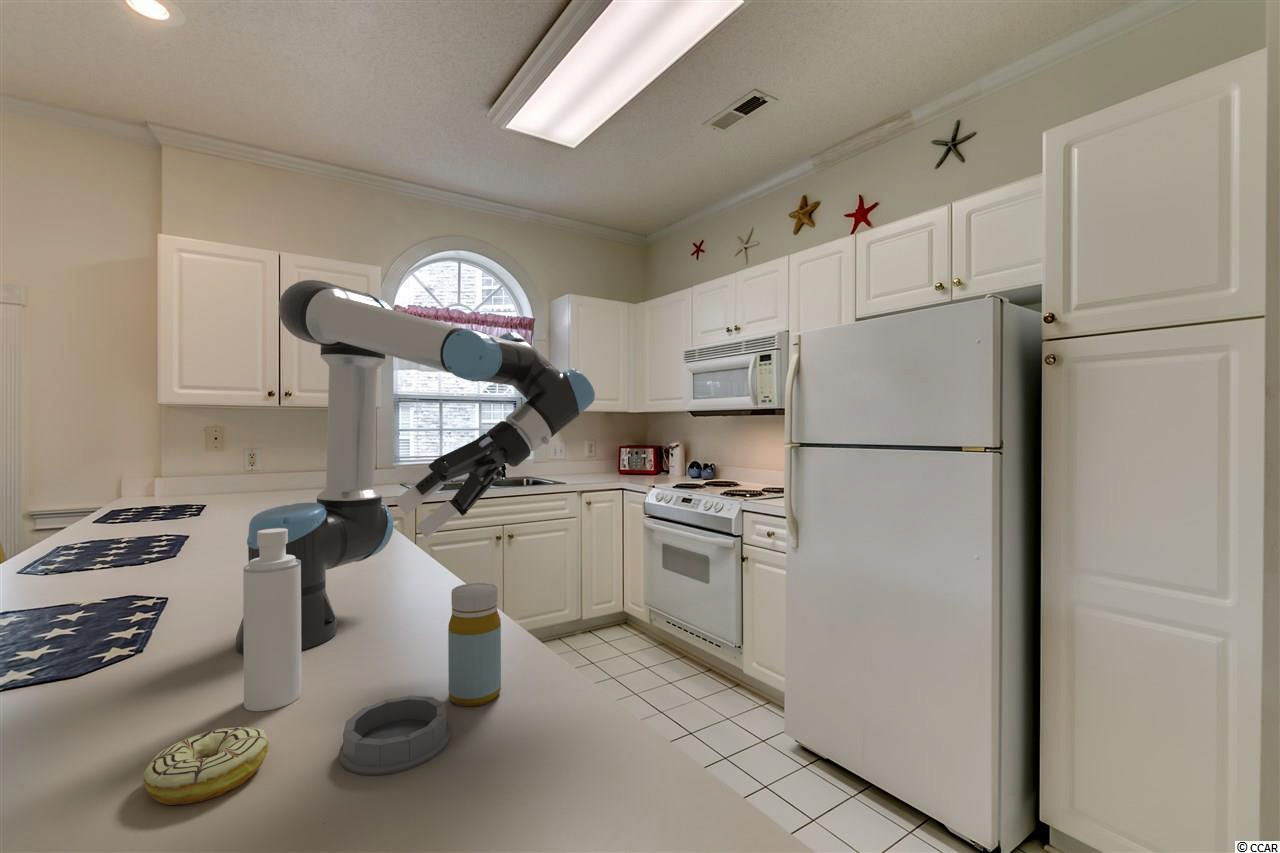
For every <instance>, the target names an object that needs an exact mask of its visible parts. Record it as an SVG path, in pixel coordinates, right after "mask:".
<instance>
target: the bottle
mask: <svg viewBox="0 0 1280 853" xmlns="http://www.w3.org/2000/svg"><path fill="white" fill-rule="evenodd" d="M448 621H449V622H448V629H447V630H448V632H447V633H448V637H447V638H448V641H447V643H448V645H447V648H448V650H447V651H448V672H447V673H448V697H449V699H450V700H451V701H452V702H453V703H454V704H456V705H457V706H461V707H476V706H483V705H485V704H488V703H490V702H491V701H494V699H496V697H497V696H498V695H499V693H500V692H501V690H502V689H501V687H502V627H501V626H502V624H501V617H500V614H499V612H498V586H497V585H496V584H494V583H491V582H490V583H489V582H472V583H471V582H470V583H465V584H464V583H463V584H461V585H458V586H455V587H454V588H452V590H451V617H450V619H449V620H448Z"/></svg>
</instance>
